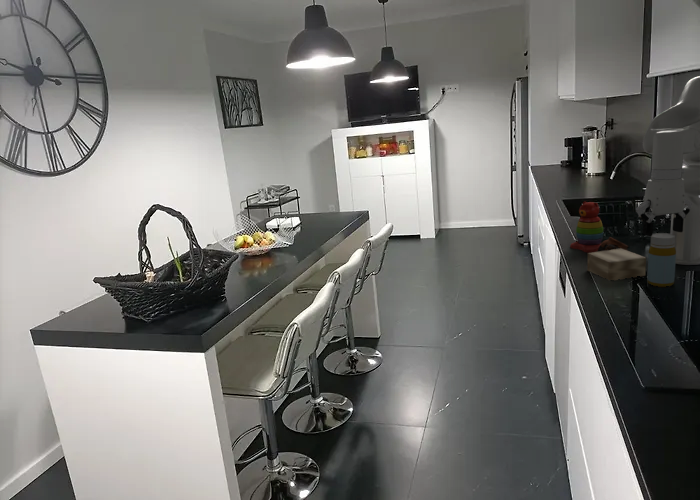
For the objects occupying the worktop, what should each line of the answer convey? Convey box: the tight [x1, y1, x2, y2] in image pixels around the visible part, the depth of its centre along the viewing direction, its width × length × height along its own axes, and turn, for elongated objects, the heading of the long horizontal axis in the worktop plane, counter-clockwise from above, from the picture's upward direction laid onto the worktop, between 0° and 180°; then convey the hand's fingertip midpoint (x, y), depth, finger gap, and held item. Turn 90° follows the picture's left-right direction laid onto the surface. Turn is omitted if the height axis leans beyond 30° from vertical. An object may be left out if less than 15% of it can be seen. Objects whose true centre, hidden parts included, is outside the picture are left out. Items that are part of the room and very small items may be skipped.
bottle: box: [646, 232, 676, 288], centre depth 156 cm, size 7×7×15 cm
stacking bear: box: [569, 201, 604, 254], centre depth 198 cm, size 11×10×18 cm
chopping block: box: [586, 248, 647, 281], centre depth 170 cm, size 12×12×6 cm
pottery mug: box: [597, 236, 630, 252], centre depth 185 cm, size 12×10×8 cm
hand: (662, 233), depth 154 cm, fingers open, 9 cm apart
